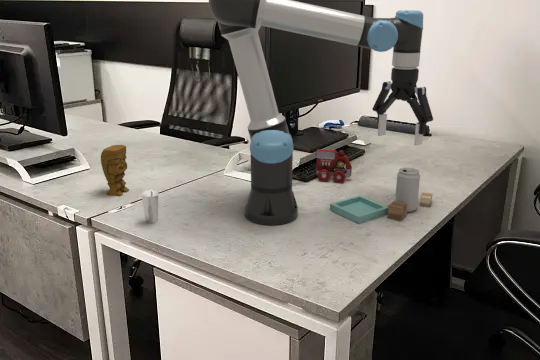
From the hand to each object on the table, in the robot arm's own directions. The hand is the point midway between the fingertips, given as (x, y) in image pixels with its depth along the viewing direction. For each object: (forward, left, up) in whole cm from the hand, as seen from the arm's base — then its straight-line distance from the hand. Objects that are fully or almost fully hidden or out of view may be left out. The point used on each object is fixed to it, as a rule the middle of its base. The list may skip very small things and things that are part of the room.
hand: (399, 139), depth 155 cm
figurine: (-68, +55, -19) cm, 90 cm away
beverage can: (-3, -7, -19) cm, 21 cm away
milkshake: (-68, +27, -19) cm, 76 cm away
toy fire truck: (-3, +25, -19) cm, 31 cm away
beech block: (+5, -8, -19) cm, 21 cm away
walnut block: (-10, -10, -19) cm, 24 cm away
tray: (-16, -1, -19) cm, 25 cm away
